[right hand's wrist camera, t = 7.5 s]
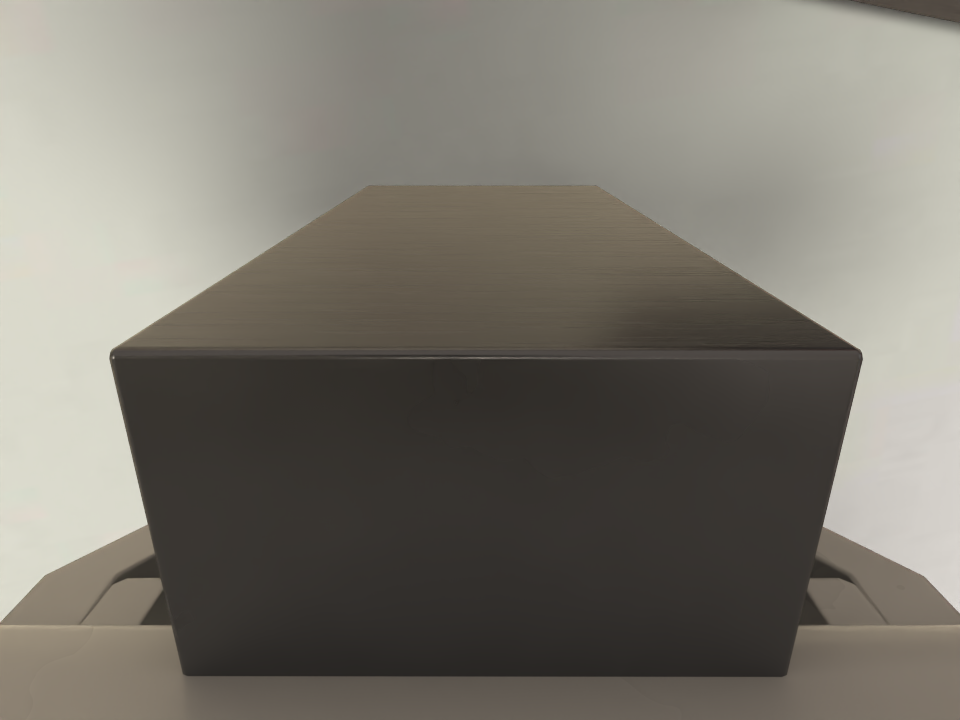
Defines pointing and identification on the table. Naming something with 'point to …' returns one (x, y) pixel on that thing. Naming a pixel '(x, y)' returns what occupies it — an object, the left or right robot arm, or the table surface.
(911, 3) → the toy
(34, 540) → the table surface
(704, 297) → the bar
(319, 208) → the table surface
